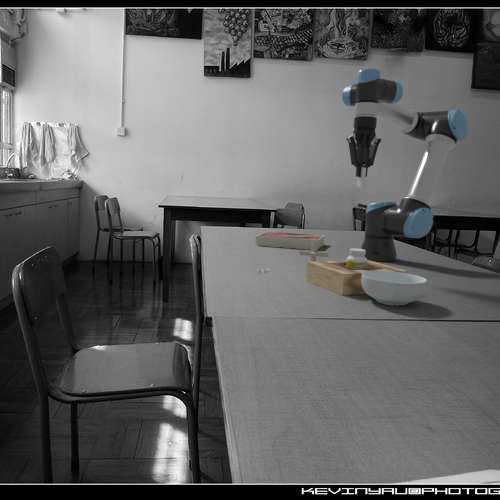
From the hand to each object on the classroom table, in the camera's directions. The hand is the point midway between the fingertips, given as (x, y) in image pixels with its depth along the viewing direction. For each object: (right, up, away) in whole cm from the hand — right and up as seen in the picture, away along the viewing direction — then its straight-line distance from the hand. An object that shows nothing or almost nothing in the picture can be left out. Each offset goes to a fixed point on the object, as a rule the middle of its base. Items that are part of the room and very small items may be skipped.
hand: (360, 186), depth 179 cm
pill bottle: (-7, -33, -23) cm, 41 cm away
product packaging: (-19, -20, +63) cm, 69 cm away
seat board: (-7, -33, -23) cm, 41 cm away
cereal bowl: (-1, -36, -42) cm, 55 cm away
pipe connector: (-16, -28, +5) cm, 33 cm away
